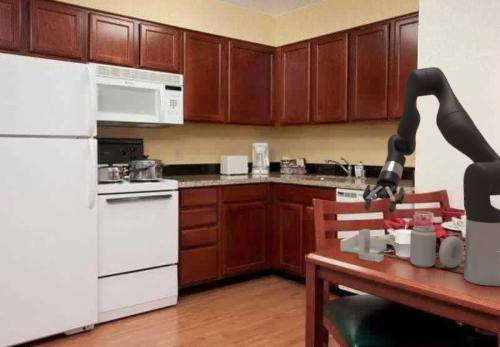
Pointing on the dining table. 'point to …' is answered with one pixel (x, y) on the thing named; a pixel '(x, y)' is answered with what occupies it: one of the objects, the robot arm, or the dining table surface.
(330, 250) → the dining table surface
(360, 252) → the bracket
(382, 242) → the walls
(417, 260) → the can
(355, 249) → the base plate
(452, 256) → the donut
